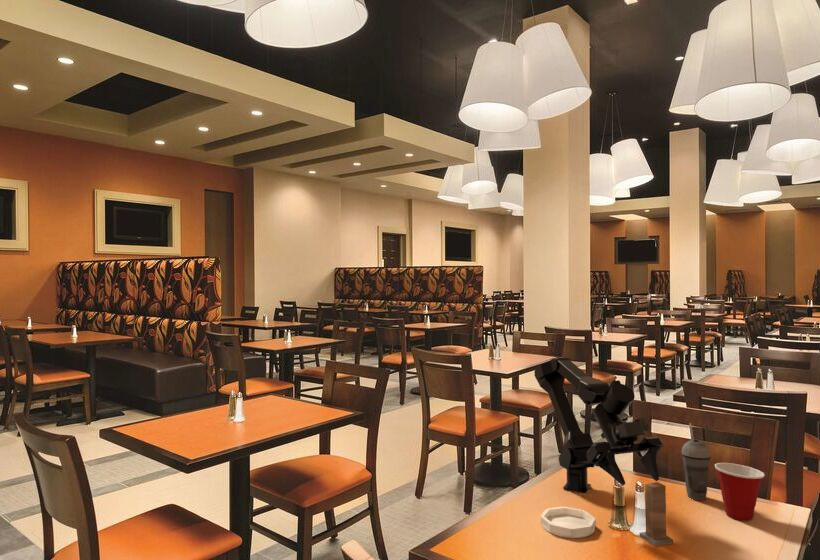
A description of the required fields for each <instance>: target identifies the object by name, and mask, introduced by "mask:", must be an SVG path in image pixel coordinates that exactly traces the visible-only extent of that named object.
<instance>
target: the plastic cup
mask: <svg viewBox="0 0 820 560" xmlns="http://www.w3.org/2000/svg"><path fill="white" fill-rule="evenodd" d="M714 467H715V470H716V473H717V477H718V478H717V479H718V480H719V486H720V492H721V498H722V502H723V506H724V511H725V514H726V516H727V517H729V518H730V519H732V520H736V521H740V522H741V521H743V522H748V521H752V520H753V518H754V515H755V510H756V505H757V502H758V501H757V500H758V496H759V489H760V486H761V483H762V480H763V479H764V477H765V476H766V475H765V472H763V471H761V470H759V469H756V468H754V467H751V466H747V465H742V464H738V463H732V462H731V463H729V462H717V463H715V464H714Z"/></svg>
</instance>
